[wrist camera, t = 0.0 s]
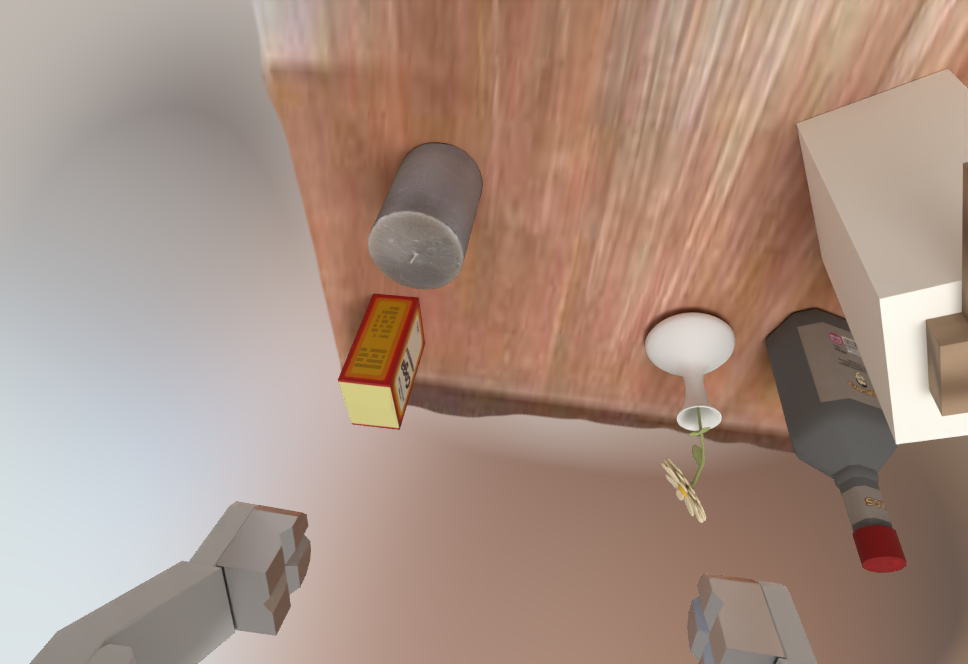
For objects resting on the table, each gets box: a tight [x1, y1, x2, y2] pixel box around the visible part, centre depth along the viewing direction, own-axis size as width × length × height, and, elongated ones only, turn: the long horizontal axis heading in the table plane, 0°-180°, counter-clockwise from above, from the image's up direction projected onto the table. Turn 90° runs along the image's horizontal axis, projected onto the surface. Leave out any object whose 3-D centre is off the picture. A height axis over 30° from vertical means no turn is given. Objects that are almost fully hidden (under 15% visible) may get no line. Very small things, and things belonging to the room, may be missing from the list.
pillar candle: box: [368, 143, 482, 289], centre depth 61 cm, size 10×10×15 cm
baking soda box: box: [338, 294, 425, 430], centre depth 79 cm, size 10×6×16 cm
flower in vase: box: [645, 312, 735, 523], centre depth 70 cm, size 13×11×25 cm
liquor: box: [766, 308, 906, 573], centre depth 64 cm, size 9×9×30 cm
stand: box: [796, 69, 968, 444], centre depth 50 cm, size 18×12×25 cm, turn 29°
